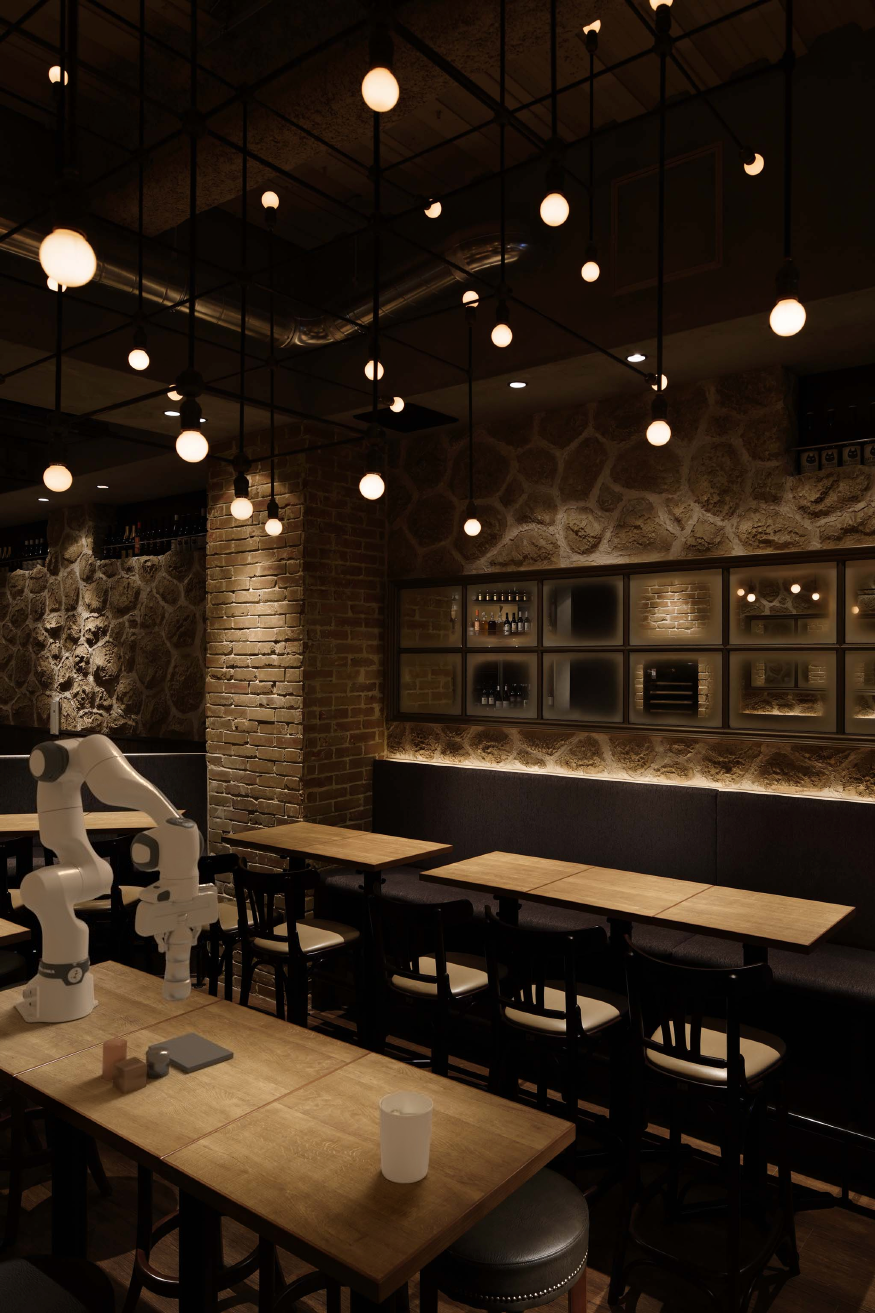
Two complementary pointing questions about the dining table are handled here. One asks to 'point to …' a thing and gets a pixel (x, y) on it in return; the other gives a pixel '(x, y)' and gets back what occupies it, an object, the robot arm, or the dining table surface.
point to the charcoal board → (194, 1052)
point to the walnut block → (129, 1075)
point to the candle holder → (405, 1135)
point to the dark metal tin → (157, 1062)
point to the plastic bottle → (178, 962)
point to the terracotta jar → (113, 1056)
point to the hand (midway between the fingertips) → (177, 948)
